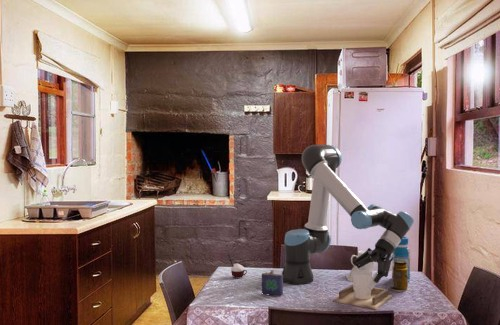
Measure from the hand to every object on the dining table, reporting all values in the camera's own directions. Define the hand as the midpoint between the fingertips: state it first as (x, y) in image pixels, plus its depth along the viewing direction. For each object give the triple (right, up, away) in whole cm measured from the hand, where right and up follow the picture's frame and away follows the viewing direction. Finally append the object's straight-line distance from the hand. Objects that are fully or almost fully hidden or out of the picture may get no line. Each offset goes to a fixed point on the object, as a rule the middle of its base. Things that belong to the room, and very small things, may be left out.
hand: (358, 283), depth 185 cm
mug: (+12, -6, +39) cm, 41 cm away
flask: (-35, -7, +8) cm, 36 cm away
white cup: (+2, -6, +1) cm, 7 cm away
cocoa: (-50, -7, +38) cm, 63 cm away
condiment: (+22, -7, +15) cm, 27 cm away
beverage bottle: (+27, -6, +30) cm, 41 cm away
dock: (+2, -7, +1) cm, 7 cm away
